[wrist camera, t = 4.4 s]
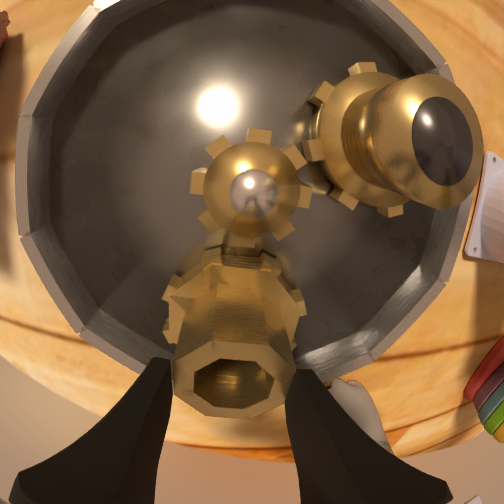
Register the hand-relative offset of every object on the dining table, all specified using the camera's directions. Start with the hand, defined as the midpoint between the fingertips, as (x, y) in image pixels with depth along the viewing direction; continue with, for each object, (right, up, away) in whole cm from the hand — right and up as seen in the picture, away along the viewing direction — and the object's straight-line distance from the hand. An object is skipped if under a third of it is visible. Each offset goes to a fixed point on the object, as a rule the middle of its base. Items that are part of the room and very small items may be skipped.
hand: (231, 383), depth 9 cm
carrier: (+1, +8, +4) cm, 9 cm away
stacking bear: (+33, -11, +14) cm, 37 cm away
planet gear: (0, +2, +5) cm, 6 cm away
